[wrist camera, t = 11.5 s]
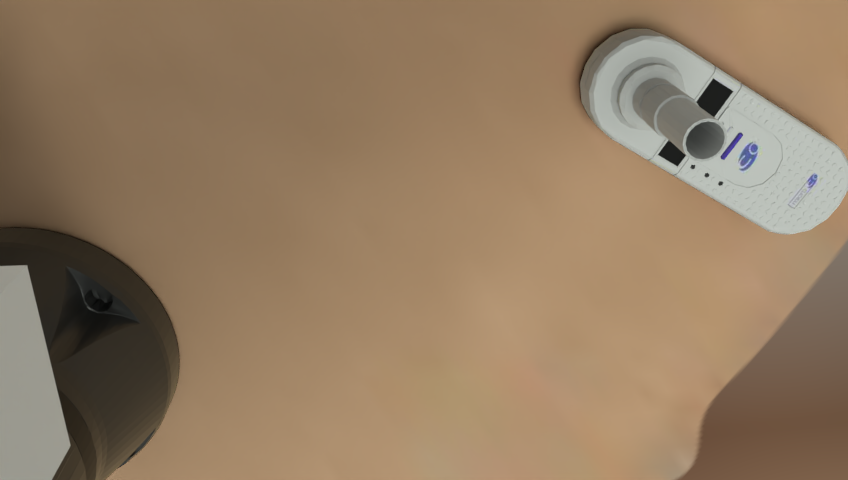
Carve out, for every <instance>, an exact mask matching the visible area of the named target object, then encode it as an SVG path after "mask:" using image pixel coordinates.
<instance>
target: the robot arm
mask: <svg viewBox="0 0 848 480" xmlns="http://www.w3.org/2000/svg"><path fill="white" fill-rule="evenodd" d="M178 376H179V351H178V345H177V340H176V336H175V333H174V330H173V327H172V325H171V322H170V320H169V318H168V316H167V314H166V312H165V310H164V308H163V307H162V305H161V304H160V302H159V300H158V299H157V298H156V296H155V295H154V294H153V292H152V291H151V290H150V289H149V288H148V286H147V285H146V284H145V283H144V282H143V281H142V280H141V279H140V278H139V277H138V276H137V275H136V274H135V273H134V272H132V271H131V270H130V269H129V268H128V267H126V266H125V265H124V264H123V263H121V262H120V261H118V260H117V259H115V258H114V257H112V256H111V255H109V254H107V253H106V252H104V251H102V250H100V249H99V248H97V247H95V246H93V245H90V244H88V243H86V242H84V241H81V240H78V239H76V238H73V237H70V236H67V235H63V234H60V233H55V232H51V231H46V230H40V229H31V228H2V229H0V480H106V479H107V478H108V477H109V476H110V475H111V474H112V473H113V472H114V471H115V470H116V469H117V468H119V467H121V466H122V465H124V464H125V463H127V462H128V461H129V460H130V459H131V458H133V457H134V456H135V455H136V454H137V453H138V452H140V451H141V450H142V449H143V448H144V447H145V446H146V444H147V443H148V442H149V441H150V439H151V438H152V437H153V435H154V434H155V433H156V431H157V430H158V428H159V426H160V425H161V423H162V421H163V419H164V416H165V414H166V412H167V409H168V407H169V405H170V403H171V400H172V398H173V395H174V393H175V389H176V386H177V382H178Z"/></svg>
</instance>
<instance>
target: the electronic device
mask: <svg viewBox="0 0 848 480" xmlns="http://www.w3.org/2000/svg"><path fill="white" fill-rule="evenodd" d="M580 90H581V101H582V103H583V105H584V107H585V110H586V112H587V114H588V116H589V117H590V118H591V119H592V120H593V122H594V123H595V124H596V125H597V126H598V127H599V128H600V129H601V130H602V131H603V132H604V133H605V134H606V135H608V136H609V137H610V138H611V139H612V140H614V141H616V142H617V143H619V144H621V145H623V146H624V147H626V148H628V149H630V150H631V151H633V152H635V153H636V154H638V155H640V156H642V157H643V158H645V159H647V160H648V161H650V162H651V163H653V164H655V165H656V166H658V167H660V168H662V169H663V170H665V171H667V172H668V173H670V174H672V175H673V176H675V177H677V178H679V179H680V180H682V181H684V182H685V183H687V184H689V185H690V186H692V187H694V188H696V189H697V190H699V191H701V192H702V193H704V194H706V195H707V196H709V197H711V198H713V199H714V200H716V201H718V202H719V203H721V204H723V205H724V206H726V207H728V208H730V209H731V210H733V211H735V212H736V213H738V214H740V215H741V216H743V217H745V218H747V219H748V220H750V221H752V222H753V223H755V224H757V225H758V226H760V227H762V228H764V229H765V230H767V231H770V232H774V233H778V234H795V233H799V232H804V231H807V230H811V229H812V228H814V227H815V226H817V225H818V224H820V223H822V222H823V221H825V220H826V219H827V218H828V217H829V216H830V215H831V214H832V213H833V212H834V211H835V209H836V208H837V207H838V206H839V205H840V203H841V201H842V199H843V198H844V196H845V194H846V192H847V190H848V161H847V159H846V157H845V155H844V153H843V152H842V150H841V149H840V148H839V147H838V146H837V145H836V144H835V143H833V142H832V141H830V140H829V139H827V138H826V137H824V136H822V135H821V134H819V133H818V132H816V131H815V130H813V129H812V128H810V127H809V126H807V125H805V124H804V123H802V122H801V121H799V120H798V119H796V118H795V117H793V116H792V115H790V114H788V113H787V112H785V111H784V110H782V109H781V108H779V107H778V106H776V105H774V104H773V103H771V102H770V101H768V100H767V99H765V98H764V97H762V96H761V95H759V94H757V93H756V92H754V91H753V90H751V89H750V88H748V87H747V86H745V85H743V84H742V83H740V82H739V81H737V80H736V79H734V78H733V77H731V76H730V75H728V74H727V73H725V72H723V71H722V70H720V69H719V68H717V67H716V66H714V65H713V64H711V63H710V62H708V61H706V60H705V59H703V58H702V57H700V56H699V55H697V54H696V53H694V52H693V51H691V50H689V49H688V48H686V47H685V46H683V45H682V44H680V43H679V42H677V41H675V40H673V39H671V38H669V37H668V36H666V35H663V34H661V33H658V32H656V31H653V30H650V29H628V30H626V31H623V32H620V33H617V34H615V35H612V36H611V37H609V38H608V39H607V40H606V41H605V42H603V43H602V44H601V45H600V46H599V47H597V48H596V49H595V50H594V52H593V54H592V55H591V57H590V58H589V60H588V61H587V63H586V65H585V68H584V71H583V75H582V78H581V81H580Z"/></svg>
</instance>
